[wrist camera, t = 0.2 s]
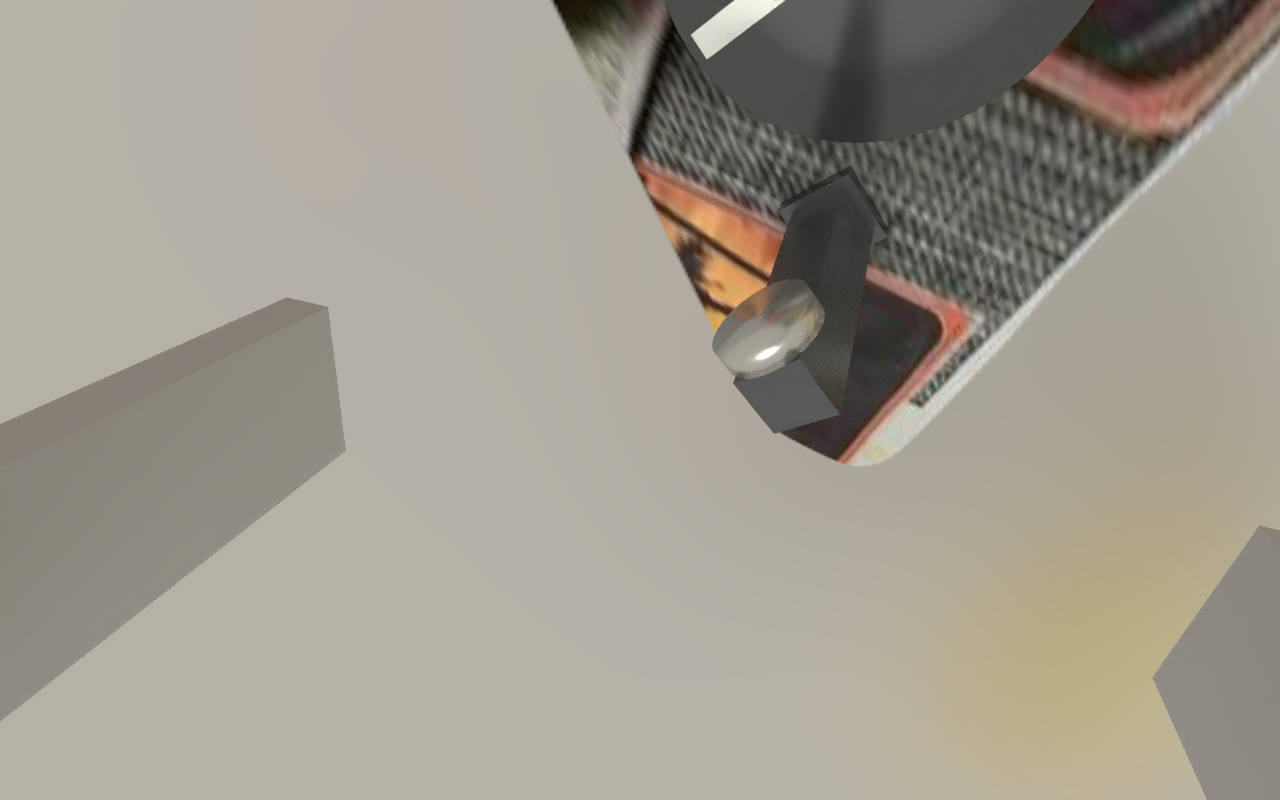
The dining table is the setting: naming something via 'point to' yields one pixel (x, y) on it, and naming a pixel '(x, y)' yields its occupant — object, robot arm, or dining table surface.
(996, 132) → the dining table surface
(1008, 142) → the dining table surface
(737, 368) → the post
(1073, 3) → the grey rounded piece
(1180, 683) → the robot arm
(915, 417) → the dining table surface
